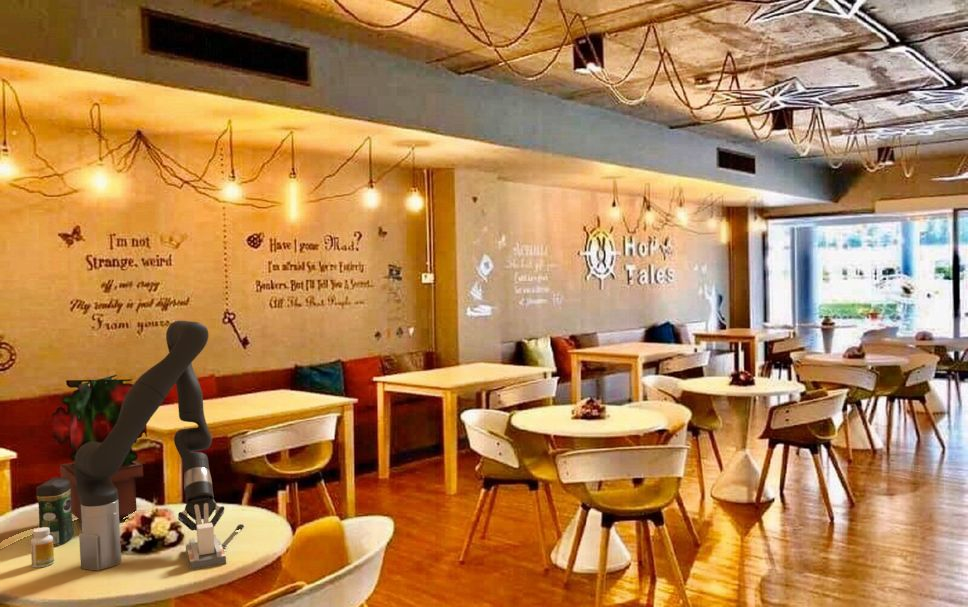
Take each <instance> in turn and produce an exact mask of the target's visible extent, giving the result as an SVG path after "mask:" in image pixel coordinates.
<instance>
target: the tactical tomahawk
mask: <svg viewBox="0 0 968 607" xmlns="http://www.w3.org/2000/svg"><path fill="white" fill-rule="evenodd" d="M244 527H245V526H244V524H242V523H240V524H238V525H237V526H236V528H235V530H239V529H241V530H242V529H243V528H244ZM235 530H234V531H233V532H231V533H230V535H229V536H228V537H227V538H226V539H225V540H224V541H223V543H221V545H222V548H223V550H227V549H226V548H227V545H228V544H229V543H230V542H231V541H232V540H233V539H234V538H235V537H236V536H237V535H238V534H239V533H238V532H235ZM237 533H238V534H237ZM236 534H237V535H236ZM235 535H236V536H235ZM234 536H235V537H234ZM233 537H234V538H233ZM225 547H226V548H225Z"/></svg>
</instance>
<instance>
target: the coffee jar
mask: <svg viewBox="0 0 968 607" xmlns="http://www.w3.org/2000/svg"><path fill="white" fill-rule="evenodd" d="M70 495H71V487H70V481H69V480H68V479H66V478H62V477H53V478H51V479H49V480H47V481H44V482H43V483H42V484H40V485H38V486H37V487H36V499H37V504H38V524H39V525H38V526H39V527H38V528H42V527H48V528H50V534H49V535H51V536H52V537H53V547H55V546H60V545H64V544H65V543H67V542H69V541H70V540H71V539H72V538H73V537H74V536H75V534H74V533H75V531H74V524H73V523H74V522H73V514H72V512H71V501H70Z"/></svg>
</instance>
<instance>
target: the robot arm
mask: <svg viewBox="0 0 968 607" xmlns="http://www.w3.org/2000/svg"><path fill="white" fill-rule="evenodd" d="M165 338H166V339H165V340H166V345H167V349H168V354H167V355H166V356H164V358H163V359H161V360H160V361H159V362H158V363H156V364H154V366H152V367H151V368H149V369H147V370H146V371H145V372H144V373H142V374H141V375H140V376H139V377H138V378H137V379H136V380H135V382H134V384H133V386H132V387H131V389H130V390H129V392H128V393H127V395H126V396H125V398H124V400H123V403H122V406H121V410H120V414H119V418H118V421H117V423H116V425H115V427H114V428H113V430H112V431H111V432H110V434H109V435H108V436H107V438H106V439H105V440H104V441H103V442H102V443H100V442H88V443H86V444H84V445H83V446H81V447H80V448H79V450H78V451H77V453H76V457H75V461H74V462H75V477H76V487H77V492H78V495H79V497H80V500H81V519H82V522H81V532H80V533H79V534H78V537H79V558H80V569H84V570H90V571H97V572H98V571H101V570H104V569H109V568H112V567H115V566H117V565H119V564H121V562H122V546H121V530H120V529H121V527H120V521H119V504H118V491H117V489H116V487H115V486H114V485H113V483H112V482H111V479H110V477H111V476H112V475H114V474H115V473H116V472H117V471H118V469H119V468H120V467H121V465H122V463H123V462H124V460H125V458H126V456H127V454H128V453H129V451H130V449H131V447H133V446H134V444H135V443H134V442H135V440H136V439H137V437H138V436H139V434H140V433H141V432H142V430H143V429H144V427H145V426H146V427H147V424H148V422H149V421H150V420H151V418H152V417H153V416H154V414H155V413H156V412H157V411H158V409H159V408H160V406H161V405H162V403H163V402H164V400H165V399H166V398H167V396H168V394H169V393H170V391H171V390H172V389H173V387H174V386H175V384H176V393H177V408H178V416H179V417H178V418H179V419H180V421H182V422H187V423H195V425H197V427H188V428H181V429H179V430H177V431H176V433H175V435H174V438H173V442H174V446H175V449H176V451H177V452H178V454H179V456H180V459H181V462H182V466H183V475H184V476H183V477H184V478H183V480H184V481H183V486H184V487H183V489H184V494H185V506H184V510H183V511H181V512H178V515H177V520H178V521H180V522H181V523H182V524H183V525H184V526H185V527H187V529H189V530H190V531H196V532H197V525H199V524H206V523H212V524H213V528H214V527H216V525H217V523H218V522H219V520H220V519H221V517H222V516H223V515H224V513H225V507H224V506H223V505H222V506H219V505H217V502H216V501H215V499H214V498H215V497H214V491H213V482H212V476H211V472H210V466H209V458H208V455H207V454H206V453H203V452H200V451H205V450H208V449H210V447H211V445H212V442H213V438H212V434H211V431H210V429H209V427H208V424H207V422H206V417H205V412H204V399H203V390H202V387H201V385H200V382H199V380H198V377H197V376H196V373H195V370H194V368H193V364H192V362H193V361H194V360H195V359H196V358H197V357H198V356H199V355H200V353H201V352H202V351H203V350H204V348H205V347H206V345H207V343H208V341H209V331H208V328H207V326H206V325H205V324H204V323H201V322H198V321H188V320H175V321H173V322H172V323H171V324H169V325H168V328H167V329H166V333H165ZM137 440H138V439H137ZM214 512H215V514H214V516H212V515H213V513H214ZM211 516H212V518H211V520H210V517H211ZM189 517H190V518H189ZM193 520H194V521H195V522H194V521H193ZM202 520H203V522H202ZM209 520H210V521H209Z"/></svg>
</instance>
